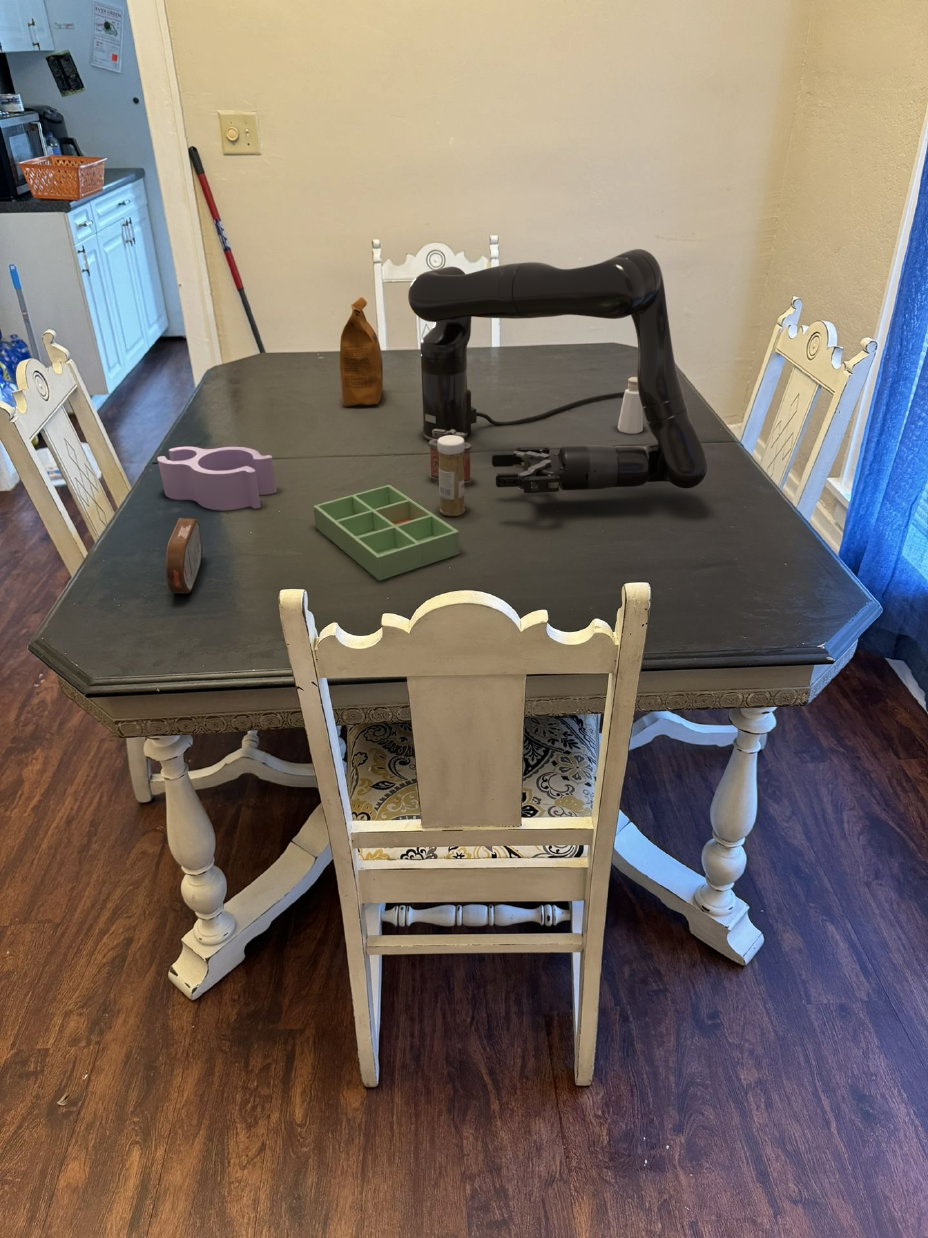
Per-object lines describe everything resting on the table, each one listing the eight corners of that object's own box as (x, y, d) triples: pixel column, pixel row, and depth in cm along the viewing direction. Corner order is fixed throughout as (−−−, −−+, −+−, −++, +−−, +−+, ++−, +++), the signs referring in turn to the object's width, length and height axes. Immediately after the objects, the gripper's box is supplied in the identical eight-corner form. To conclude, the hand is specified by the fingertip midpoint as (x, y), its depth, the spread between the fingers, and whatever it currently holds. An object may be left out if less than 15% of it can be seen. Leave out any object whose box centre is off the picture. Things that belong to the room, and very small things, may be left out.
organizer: (390, 505, 155) (389, 484, 153) (459, 553, 140) (458, 531, 138) (315, 527, 148) (313, 505, 146) (379, 580, 133) (377, 557, 131)
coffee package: (389, 391, 207) (384, 295, 195) (380, 409, 197) (374, 309, 185) (348, 390, 208) (340, 295, 196) (337, 408, 198) (328, 308, 186)
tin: (188, 555, 140) (178, 508, 136) (208, 554, 140) (199, 507, 136) (170, 605, 128) (158, 554, 123) (191, 603, 128) (181, 553, 123)
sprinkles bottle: (470, 513, 152) (469, 440, 145) (448, 519, 150) (446, 446, 143) (455, 503, 155) (454, 432, 148) (434, 510, 153) (432, 437, 146)
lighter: (473, 480, 164) (473, 429, 158) (467, 487, 161) (467, 436, 156) (433, 474, 166) (432, 424, 161) (427, 481, 164) (425, 431, 158)
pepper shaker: (614, 432, 184) (619, 380, 178) (620, 423, 188) (625, 373, 182) (639, 435, 182) (645, 383, 176) (645, 426, 187) (650, 376, 180)
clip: (152, 502, 157) (144, 466, 153) (188, 474, 167) (181, 440, 163) (252, 514, 152) (246, 477, 149) (283, 485, 163) (278, 450, 159)
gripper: (582, 431, 154) (490, 434, 153) (596, 463, 142) (497, 466, 141) (579, 471, 158) (490, 473, 157) (593, 505, 146) (497, 508, 145)
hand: (494, 470), depth 149 cm, fingers open, 8 cm apart
